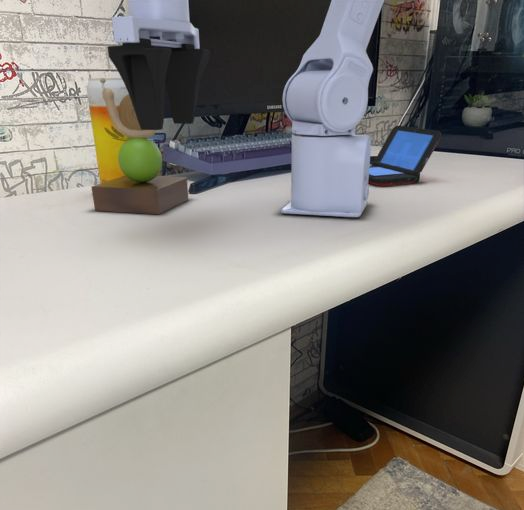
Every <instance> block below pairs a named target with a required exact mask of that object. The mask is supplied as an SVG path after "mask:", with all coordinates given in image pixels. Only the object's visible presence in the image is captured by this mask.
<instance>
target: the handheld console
mask: <svg viewBox="0 0 524 510" xmlns="http://www.w3.org/2000/svg"><path fill="white" fill-rule="evenodd" d="M441 138H442V132H441V131H439V130H435V129H427V128H420V127H414V126H413V127H412V126H405V125H395V126H394V127H392V129H391V130H390V132H389V134H388V136H387V137H386V139H385V141H384V143H383V145H382V146H381V148H380V150H379V152H378V154H377V156H376V157H375V159H374V160H373V161H372V162H371V164H370V167H369V180H368V184H372V185H375V186H380V187H383V186H384V187H385V186H394V185H395V186H396V185H405V184H418V183H419V182H420V181H421V180H420V179H421V173H422V172H423V170H424V168H425V166H426V165H427V163H428V161H429V160H430V158H431V156H432V154H433V152H434V151H435V149H436V147H437V145H438V144H439V143H440V141H441Z"/></svg>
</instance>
